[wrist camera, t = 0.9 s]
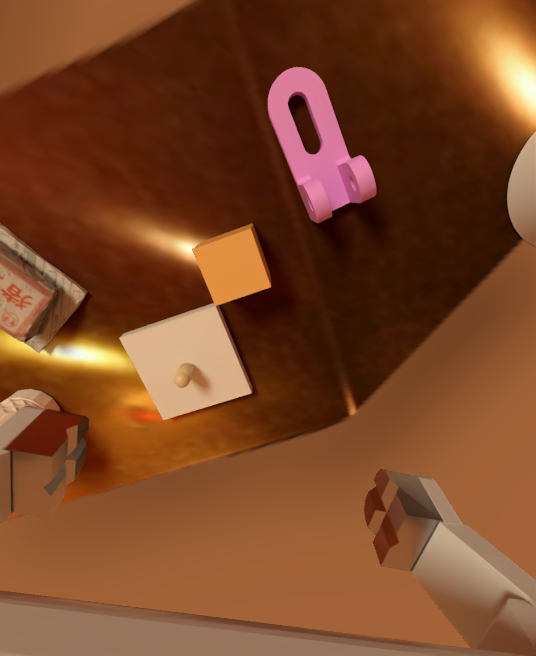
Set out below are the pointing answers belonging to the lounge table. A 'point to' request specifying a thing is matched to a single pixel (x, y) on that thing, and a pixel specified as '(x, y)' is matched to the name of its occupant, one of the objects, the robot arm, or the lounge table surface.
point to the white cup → (25, 403)
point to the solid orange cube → (233, 264)
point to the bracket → (332, 160)
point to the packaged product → (33, 293)
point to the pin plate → (188, 361)
